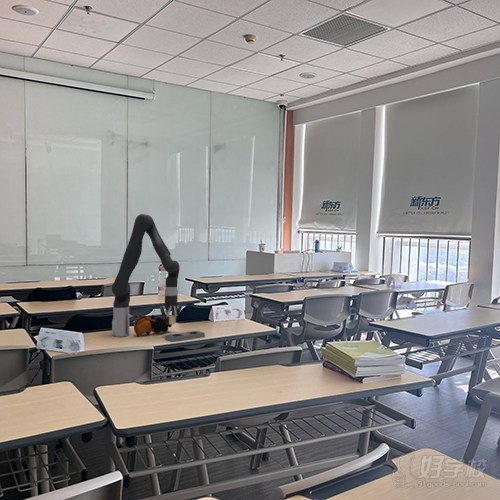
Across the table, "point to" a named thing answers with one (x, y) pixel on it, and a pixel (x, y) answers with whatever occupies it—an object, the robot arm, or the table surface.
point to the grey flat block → (184, 336)
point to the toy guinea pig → (150, 325)
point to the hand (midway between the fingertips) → (170, 322)
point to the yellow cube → (171, 319)
